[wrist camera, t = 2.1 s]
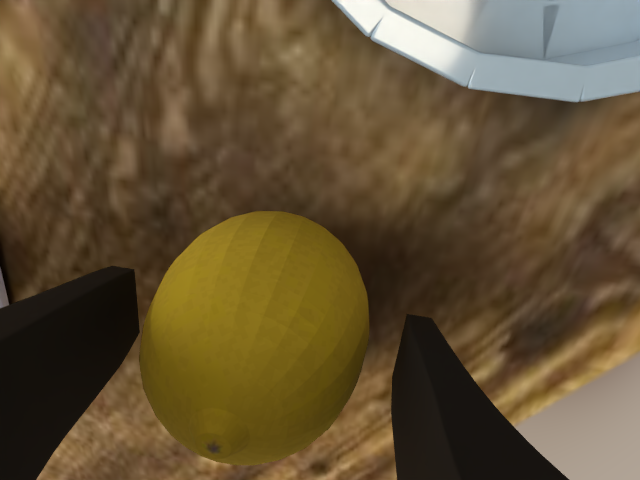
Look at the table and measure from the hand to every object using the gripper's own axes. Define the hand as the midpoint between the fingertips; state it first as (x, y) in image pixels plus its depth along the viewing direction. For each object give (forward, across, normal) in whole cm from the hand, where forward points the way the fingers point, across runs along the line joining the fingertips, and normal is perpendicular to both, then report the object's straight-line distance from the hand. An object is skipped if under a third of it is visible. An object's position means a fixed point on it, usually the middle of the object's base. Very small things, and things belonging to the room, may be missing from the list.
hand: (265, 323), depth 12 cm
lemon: (+4, 0, 0) cm, 4 cm away
